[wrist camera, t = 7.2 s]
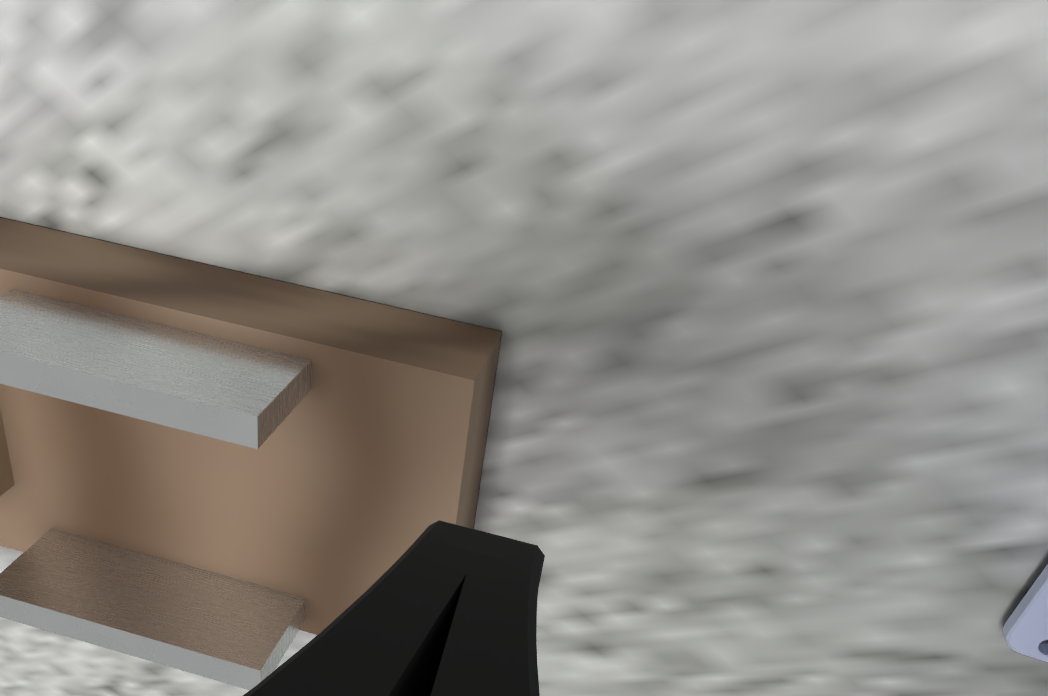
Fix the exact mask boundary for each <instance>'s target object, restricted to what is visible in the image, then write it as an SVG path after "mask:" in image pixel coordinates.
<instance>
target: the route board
mask: <svg viewBox="0 0 1048 696" xmlns="http://www.w3.org/2000/svg"><path fill="white" fill-rule="evenodd" d="M13 288H14V289H18V290H22V291H26V292H30V293H35V294H39V295H43V296H47V297H51V298H56V299H60V300H64V301H68V302H72V303H77V304H81V305H85V306H89V307H93V308H98V309H102V310H106V311H110V312H114V313H118V314H123V315H127V316H131V317H135V318H139V319H144V320H148V321H152V322H156V323H160V324H165V325H169V326H173V327H177V328H181V329H185V330H190V331H194V332H198V333H202V334H206V335H211V336H215V337H219V338H223V339H227V340H232V341H236V342H240V343H244V344H248V345H253V346H257V347H261V348H265V349H269V350H273V351H278V352H282V353H286V354H290V355H294V356H299V357H303V358H307V359H311V360H312V372H311V391H310V392H309V393H308V394H307V395H306V396H305V397H304V398H303V399H302V401H301V402H300V403H299V404H298V405H297V406H296V407H295V408H294V409H293V411H292V412H291V413H290V414H289V415H288V416H287V417H286V418H285V420H284V421H283V422H282V423H281V424H280V425H279V426H278V427H277V428H276V430H275V431H274V432H273V433H272V434H271V435H270V436H269V437H268V439H267V440H266V441H265V442H264V443H263V444H262V445H261V446H260V447H259V449H255V448H251V447H247V446H243V445H239V444H235V443H231V442H227V441H223V440H219V439H215V438H211V437H208V436H204V435H200V434H196V433H192V432H188V431H184V430H180V429H176V428H172V427H168V426H164V425H160V424H157V423H153V422H149V421H145V420H141V419H137V418H133V417H129V416H125V415H121V414H117V413H113V412H109V411H106V410H102V409H98V408H94V407H90V406H86V405H82V404H78V403H74V402H70V401H66V400H62V399H58V398H55V397H51V396H47V395H43V394H39V393H35V392H31V391H27V390H23V389H19V388H15V387H11V386H7V385H4V384H0V407H1V413H2V418H3V424H4V429H5V435H6V440H7V446H8V451H9V457H10V462H11V468H12V473H13V479H14V484H15V485H14V486H12V487H11V488H10V489H9V490H7V491H6V492H5V493H4V494H2V495H1V496H0V546H4V547H7V548H11V549H15V550H18V551H22V552H25V551H26V550H27V549H28V548H30V547H31V546H32V545H33V544H34V543H35V542H36V541H37V540H39V539H40V538H41V537H42V536H43V535H44V534H45V533H46V532H48V531H49V530H50V529H51V528H55V529H59V530H63V531H66V532H70V533H74V534H77V535H81V536H84V537H88V538H92V539H95V540H99V541H102V542H106V543H110V544H113V545H117V546H121V547H124V548H128V549H131V550H135V551H139V552H142V553H146V554H149V555H153V556H157V557H160V558H164V559H168V560H171V561H175V562H178V563H182V564H186V565H189V566H193V567H197V568H200V569H204V570H207V571H211V572H215V573H218V574H222V575H225V576H229V577H233V578H236V579H240V580H244V581H247V582H251V583H254V584H258V585H262V586H265V587H269V588H272V589H276V590H280V591H283V592H287V593H291V594H294V595H298V596H301V597H305V598H306V620H305V621H304V623H303V625H302V626H301V628H300V630H302V631H306V632H309V633H313V634H316V635H318V634H319V633H321V632H322V631H323V630H324V629H325V628H326V627H327V626H328V625H329V624H331V623H332V622H333V621H334V620H335V619H336V618H337V617H338V616H339V615H340V614H342V613H343V612H344V611H345V610H346V609H347V608H348V607H349V606H350V605H351V604H353V603H354V602H355V601H356V600H357V599H358V598H359V597H360V596H361V595H362V594H364V593H365V592H366V591H367V590H368V589H369V588H370V587H371V586H372V585H373V584H374V583H375V582H376V581H377V580H378V579H379V578H380V577H381V576H382V575H383V574H384V573H385V572H386V571H387V570H388V569H389V568H390V567H391V566H392V565H393V564H394V563H395V562H396V561H397V560H398V559H399V558H400V557H401V556H402V555H403V554H404V553H405V552H406V551H407V549H408V548H409V547H410V546H411V545H412V544H413V543H414V542H415V541H416V540H417V539H418V538H419V536H420V535H421V534H422V533H423V532H424V531H425V530H426V528H427V527H428V526H429V525H431V524H433V523H435V522H437V521H439V520H440V521H444V522H448V523H452V524H455V525H459V526H463V527H467V528H471V529H474V522H475V515H476V508H477V501H478V494H479V487H480V480H481V473H482V466H483V460H484V453H485V446H486V439H487V432H488V425H489V418H490V411H491V404H492V397H493V390H494V383H495V376H496V369H497V362H498V355H499V348H500V341H501V334H502V331H497V330H493V329H488V328H484V327H480V326H475V325H471V324H466V323H462V322H458V321H453V320H449V319H444V318H440V317H436V316H431V315H427V314H422V313H418V312H414V311H409V310H405V309H401V308H396V307H392V306H387V305H383V304H379V303H374V302H370V301H365V300H361V299H357V298H352V297H348V296H343V295H339V294H335V293H330V292H326V291H321V290H317V289H313V288H308V287H304V286H299V285H295V284H291V283H286V282H282V281H277V280H273V279H269V278H264V277H260V276H255V275H251V274H247V273H242V272H238V271H233V270H229V269H225V268H220V267H216V266H211V265H207V264H203V263H198V262H194V261H190V260H185V259H181V258H176V257H172V256H168V255H163V254H159V253H154V252H150V251H146V250H141V249H137V248H132V247H128V246H124V245H119V244H115V243H110V242H106V241H102V240H97V239H93V238H88V237H84V236H80V235H75V234H71V233H66V232H62V231H58V230H53V229H49V228H44V227H40V226H36V225H31V224H27V223H22V222H18V221H14V220H9V219H5V218H0V295H2V294H3V293H5V292H7V291H9V290H11V289H13Z"/></svg>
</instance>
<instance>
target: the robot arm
mask: <svg viewBox="0 0 1048 696" xmlns="http://www.w3.org/2000/svg"><path fill="white" fill-rule="evenodd" d="M544 557H545V556H544V554H543V553H542V551H541V550H540V549H539V547H538V546H537V545H533V544H529V543H525V542H521V541H517V540H513V539H510V538H506V537H502V536H498V535H494V534H490V533H486V532H483V531H479V530H475V529H471V528H467V527H463V526H459V525H455V524H452V523H448V522H444V521H440V520H439V521H437V522H435V523H433V524H431V525H429V526H428V527H427V528H426V530H425V531H424V532H423V533H422V534H421V535H420V536H419V538H418V539H417V540H416V541H415V542H414V543H413V544H412V545H411V546H410V547H409V548H408V549H407V551H406V552H405V553H404V554H403V555H402V556H401V557H400V558H399V559H398V560H397V561H396V562H395V563H394V564H393V565H392V566H391V567H390V568H389V569H388V570H387V571H386V572H385V573H384V574H383V575H382V576H381V577H380V578H379V579H378V580H377V581H376V582H375V583H374V584H373V585H372V586H371V587H370V588H369V589H368V590H367V591H366V592H365V593H364V594H362V595H361V596H360V597H359V598H358V599H357V600H356V601H355V602H354V603H353V604H351V605H350V606H349V607H348V608H347V609H346V610H345V611H344V612H343V613H342V614H340V615H339V616H338V617H337V618H336V619H335V620H334V621H333V622H332V623H331V624H329V625H328V626H327V627H326V628H325V629H324V630H323V631H322V632H321V633H319V634H318V635H317V636H316V637H315V638H314V639H313V640H311V641H310V642H309V643H308V644H307V645H305V646H304V647H303V648H302V649H300V650H299V651H298V652H297V653H296V654H294V655H293V656H292V657H291V658H289V659H288V660H287V661H286V662H285V663H283V664H282V665H281V666H280V667H278V668H277V669H276V670H275V671H273V672H272V673H271V674H270V675H269V676H267V677H266V678H265V679H264V680H262V681H261V682H260V683H259V684H258V685H256V686H255V687H254V688H252V689H251V690H250V691H249V692H247V693H246V694H245V695H243V696H539V683H538V669H537V649H536V614H537V595H538V587H539V582H540V577H541V572H542V567H543V562H544ZM1003 634H1004V637H1005V640H1006V642H1007V645H1008V646H1009V647H1010V648H1011V649H1012V650H1014V651H1016V652H1018V653H1020V654H1023V655H1026V656H1029V657H1032V658H1035V659H1038V660H1041V661H1044V662H1047V663H1048V643H1046V644H1045V643H1041V642H1042V641H1044V640H1048V564H1047V566H1046V567H1045V568H1044V570H1043V571H1042V572H1041V574H1040V575H1039V577H1038V578H1037V579H1036V581H1035V582H1034V584H1033V585H1032V586H1031V588H1030V589H1029V591H1028V592H1027V593H1026V595H1025V596H1024V598H1023V599H1022V600H1021V602H1020V603H1019V605H1018V606H1017V607H1016V609H1015V610H1014V612H1013V613H1012V614H1011V616H1010V617H1009V619H1008V620H1007V621H1006V623H1005V625H1004V627H1003Z"/></svg>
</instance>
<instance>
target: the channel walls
mask: <svg viewBox="0 0 1048 696" xmlns="http://www.w3.org/2000/svg"><path fill="white" fill-rule="evenodd" d="M311 372H312V360H311V359H307V358H303V357H299V356H294V355H290V354H286V353H282V352H278V351H273V350H269V349H265V348H261V347H257V346H253V345H248V344H244V343H240V342H236V341H232V340H227V339H223V338H219V337H215V336H211V335H206V334H202V333H198V332H194V331H190V330H185V329H181V328H177V327H173V326H169V325H165V324H160V323H156V322H152V321H148V320H144V319H139V318H135V317H131V316H127V315H123V314H118V313H114V312H110V311H106V310H102V309H98V308H93V307H89V306H85V305H81V304H77V303H72V302H68V301H64V300H60V299H56V298H51V297H47V296H43V295H39V294H35V293H30V292H26V291H22V290H18V289H14V288H13V289H11V290H9V291H7V292H5V293H3V294H2V295H0V384H4V385H7V386H11V387H15V388H19V389H23V390H27V391H31V392H35V393H39V394H43V395H47V396H51V397H55V398H58V399H62V400H66V401H70V402H74V403H78V404H82V405H86V406H90V407H94V408H98V409H102V410H106V411H109V412H113V413H117V414H121V415H125V416H129V417H133V418H137V419H141V420H145V421H149V422H153V423H157V424H160V425H164V426H168V427H172V428H176V429H180V430H184V431H188V432H192V433H196V434H200V435H204V436H208V437H211V438H215V439H219V440H223V441H227V442H231V443H235V444H239V445H243V446H247V447H251V448H255V449H259V447H260V446H261V445H262V444H263V443H264V442H265V441H266V440H267V439H268V437H269V436H270V435H271V434H272V433H273V432H274V431H275V430H276V428H277V427H278V426H279V425H280V424H281V423H282V422H283V421H284V420H285V418H286V417H287V416H288V415H289V414H290V413H291V412H292V411H293V409H294V408H295V407H296V406H297V405H298V404H299V403H300V402H301V401H302V399H303V398H304V397H305V396H306V395H307V394H308V393H309V392H310V391H311ZM0 617H2V618H6V619H9V620H13V621H16V622H19V623H23V624H26V625H30V626H33V627H36V628H40V629H43V630H47V631H50V632H54V633H57V634H60V635H64V636H67V637H71V638H74V639H77V640H81V641H84V642H88V643H91V644H94V645H98V646H101V647H105V648H108V649H111V650H115V651H118V652H122V653H125V654H128V655H132V656H135V657H139V658H142V659H146V660H149V661H152V662H156V663H159V664H163V665H166V666H169V667H173V668H176V669H180V670H183V671H186V672H190V673H193V674H197V675H200V676H203V677H207V678H210V679H214V680H217V681H220V682H224V683H227V684H231V685H234V686H237V687H241V688H244V689H248V690H251V689H252V688H254V687H255V686H256V685H258V684H259V683H260V682H261V681H262V680H264V679H265V678H266V677H267V676H269V675H270V674H271V673H272V672H273V671H275V669H276V667H277V666H278V664H279V662H280V661H281V659H282V658H283V656H284V654H285V653H286V651H287V649H288V648H289V646H290V644H291V643H292V641H293V639H294V638H295V636H296V635H297V633H298V631H299V630H300V628H301V626H302V625H303V623H304V621H305V620H306V598H305V597H301V596H298V595H294V594H291V593H287V592H283V591H280V590H276V589H272V588H269V587H265V586H262V585H258V584H254V583H251V582H247V581H244V580H240V579H236V578H233V577H229V576H225V575H222V574H218V573H215V572H211V571H207V570H204V569H200V568H197V567H193V566H189V565H186V564H182V563H178V562H175V561H171V560H168V559H164V558H160V557H157V556H153V555H149V554H146V553H142V552H139V551H135V550H131V549H128V548H124V547H121V546H117V545H113V544H110V543H106V542H102V541H99V540H95V539H92V538H88V537H84V536H81V535H77V534H74V533H70V532H66V531H63V530H59V529H55V528H51V529H50V530H49V531H48V532H46V533H45V534H44V535H43V536H42V537H41V538H40V539H39V540H37V541H36V542H35V543H34V544H33V545H32V546H31V547H30V548H28V549H27V550H26V551H25V552H24V553H23V554H22V555H21V556H20V557H18V558H17V559H16V560H15V561H14V562H13V563H12V564H11V565H9V566H8V567H7V568H6V569H5V570H4V571H3V572H2V573H0Z"/></svg>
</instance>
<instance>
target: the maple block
mask: <svg viewBox="0 0 1048 696" xmlns="http://www.w3.org/2000/svg"><path fill="white" fill-rule="evenodd" d="M14 485H15V484H14V479H13V473H12V468H11V462H10V457H9V451H8V446H7V440H6V435H5V429H4V424H3V418H2V413H1V407H0V496H1V495H2V494H4V493H5V492H6V491H7V490H9V489H10V488H11V487H12V486H14Z"/></svg>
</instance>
